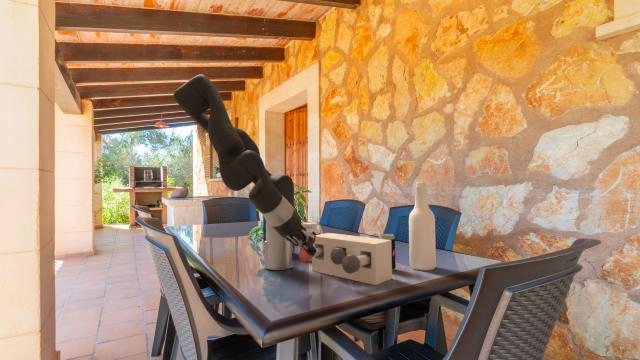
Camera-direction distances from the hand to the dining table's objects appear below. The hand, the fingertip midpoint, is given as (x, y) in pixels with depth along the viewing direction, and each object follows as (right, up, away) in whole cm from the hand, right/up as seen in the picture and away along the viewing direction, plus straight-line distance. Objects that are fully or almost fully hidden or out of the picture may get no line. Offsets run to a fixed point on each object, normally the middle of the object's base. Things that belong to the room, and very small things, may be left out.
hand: (313, 253), depth 100 cm
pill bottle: (-2, -10, +35) cm, 37 cm away
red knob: (0, -5, +14) cm, 14 cm away
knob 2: (+13, -5, 0) cm, 14 cm away
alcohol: (+38, -10, +20) cm, 44 cm away
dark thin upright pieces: (-16, -11, +47) cm, 50 cm away
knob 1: (+10, -5, +11) cm, 16 cm away
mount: (+12, -10, +13) cm, 20 cm away
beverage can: (+25, -10, +18) cm, 32 cm away
